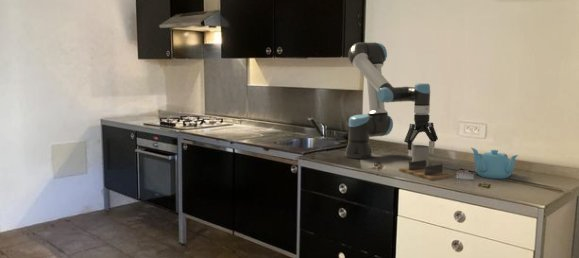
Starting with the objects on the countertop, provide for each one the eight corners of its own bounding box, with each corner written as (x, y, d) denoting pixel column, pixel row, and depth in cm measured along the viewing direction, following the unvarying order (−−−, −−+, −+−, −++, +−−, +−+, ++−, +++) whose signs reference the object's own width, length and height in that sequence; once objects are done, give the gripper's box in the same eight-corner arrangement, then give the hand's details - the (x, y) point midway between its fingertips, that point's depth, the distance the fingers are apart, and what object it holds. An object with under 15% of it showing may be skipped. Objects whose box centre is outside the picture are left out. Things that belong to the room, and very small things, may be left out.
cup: (416, 163, 259) (416, 144, 257) (430, 165, 254) (431, 146, 252) (408, 165, 252) (409, 146, 251) (424, 167, 247) (424, 148, 246)
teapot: (476, 179, 223) (478, 153, 221) (469, 170, 241) (470, 146, 239) (517, 181, 220) (518, 154, 218) (506, 172, 238) (508, 147, 236)
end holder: (398, 170, 240) (399, 160, 240) (420, 168, 247) (421, 157, 246) (430, 180, 221) (430, 169, 220) (453, 177, 227) (453, 166, 227)
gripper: (407, 115, 240) (406, 158, 243) (445, 113, 251) (444, 153, 254) (397, 114, 247) (397, 155, 249) (435, 112, 258) (434, 151, 261)
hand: (420, 154), depth 252 cm, fingers open, 13 cm apart
